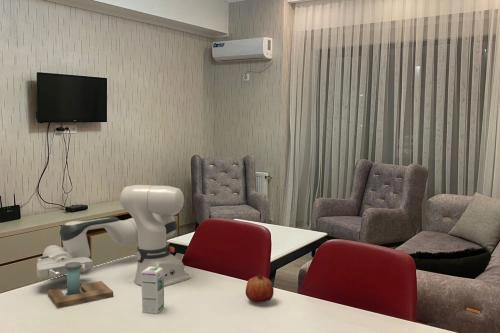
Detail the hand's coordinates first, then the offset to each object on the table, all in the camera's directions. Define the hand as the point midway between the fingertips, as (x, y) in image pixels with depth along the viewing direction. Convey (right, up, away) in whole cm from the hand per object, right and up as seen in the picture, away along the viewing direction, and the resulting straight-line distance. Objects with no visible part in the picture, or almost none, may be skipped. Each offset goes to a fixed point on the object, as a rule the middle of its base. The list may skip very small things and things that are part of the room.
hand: (70, 272), depth 174 cm
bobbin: (+2, -8, -2) cm, 9 cm away
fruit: (+70, -10, -5) cm, 71 cm away
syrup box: (+34, -10, -14) cm, 38 cm away
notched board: (+5, -8, -2) cm, 10 cm away
